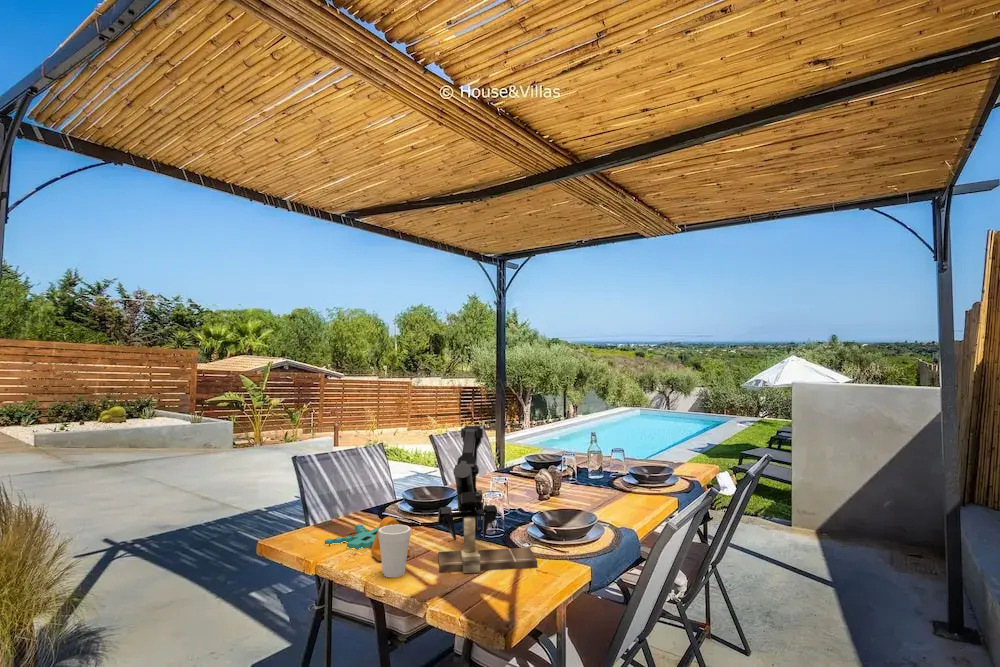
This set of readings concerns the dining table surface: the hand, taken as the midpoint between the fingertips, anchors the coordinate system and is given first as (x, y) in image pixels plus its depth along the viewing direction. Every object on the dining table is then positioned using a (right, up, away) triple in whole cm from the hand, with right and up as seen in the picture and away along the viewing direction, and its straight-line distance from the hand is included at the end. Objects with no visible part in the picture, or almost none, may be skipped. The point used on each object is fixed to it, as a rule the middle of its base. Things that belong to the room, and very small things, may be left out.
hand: (469, 539), depth 166 cm
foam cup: (-22, -8, -8) cm, 25 cm away
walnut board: (+5, -8, +1) cm, 10 cm away
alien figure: (-38, -10, +23) cm, 46 cm away
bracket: (-26, -8, +6) cm, 28 cm away
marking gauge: (0, -7, -3) cm, 8 cm away
